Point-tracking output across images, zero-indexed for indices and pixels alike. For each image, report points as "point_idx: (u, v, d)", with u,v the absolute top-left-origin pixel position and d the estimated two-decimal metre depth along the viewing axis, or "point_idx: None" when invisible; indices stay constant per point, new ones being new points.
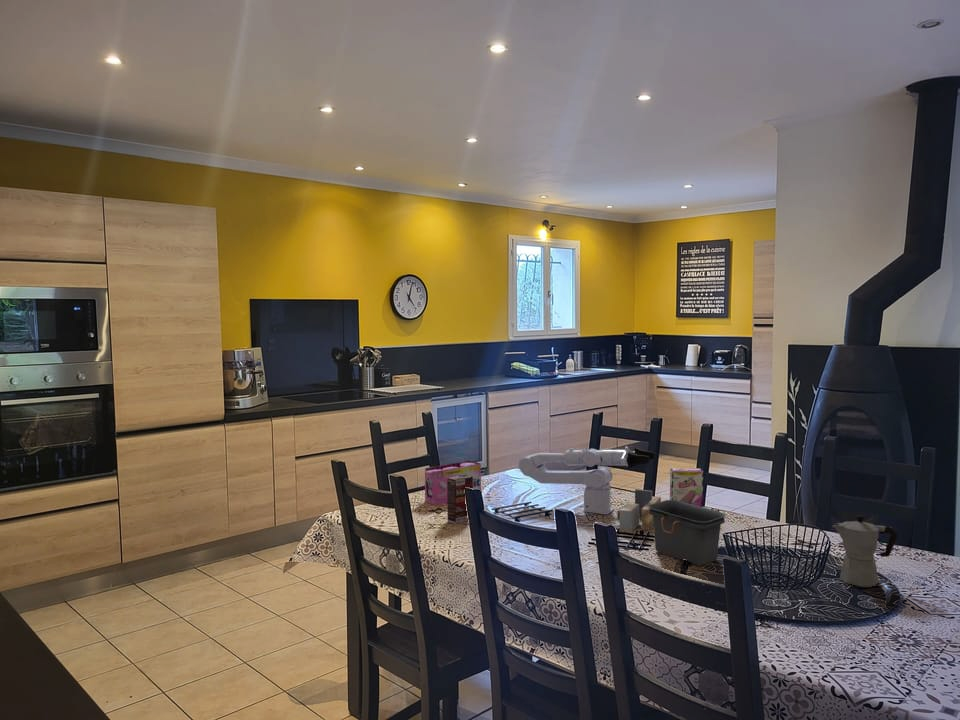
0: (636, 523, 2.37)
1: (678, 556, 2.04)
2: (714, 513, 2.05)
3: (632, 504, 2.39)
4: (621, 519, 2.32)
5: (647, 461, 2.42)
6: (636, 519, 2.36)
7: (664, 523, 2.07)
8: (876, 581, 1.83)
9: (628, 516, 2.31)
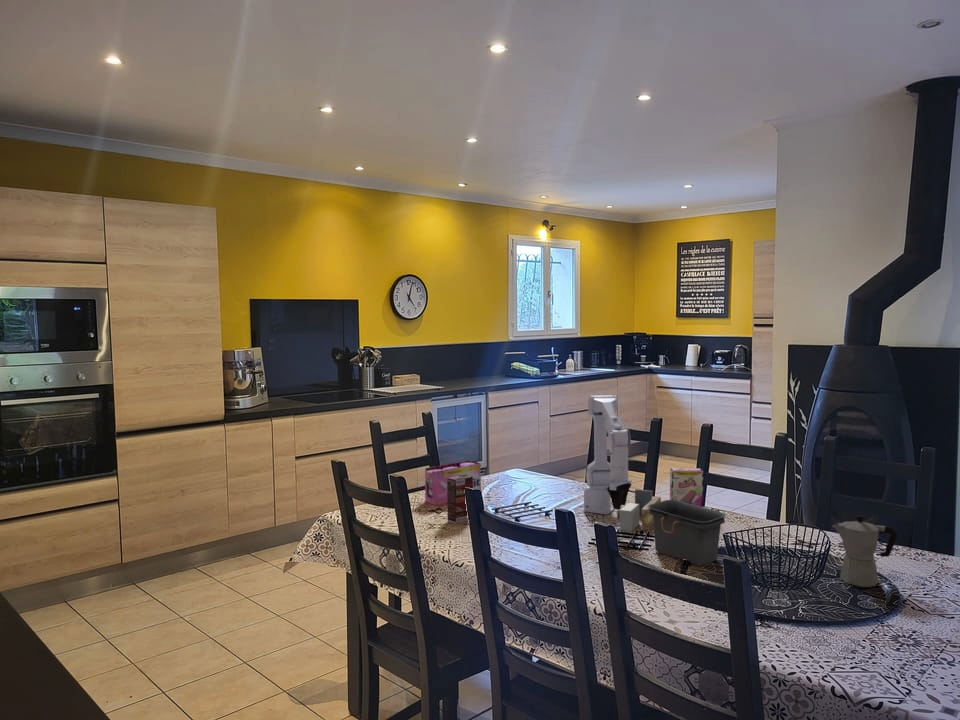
0: (636, 523, 2.37)
1: (678, 556, 2.04)
2: (714, 513, 2.05)
3: (632, 504, 2.39)
4: (621, 519, 2.32)
5: (614, 507, 2.25)
6: (636, 519, 2.36)
7: (664, 523, 2.07)
8: (876, 581, 1.83)
9: (628, 516, 2.31)
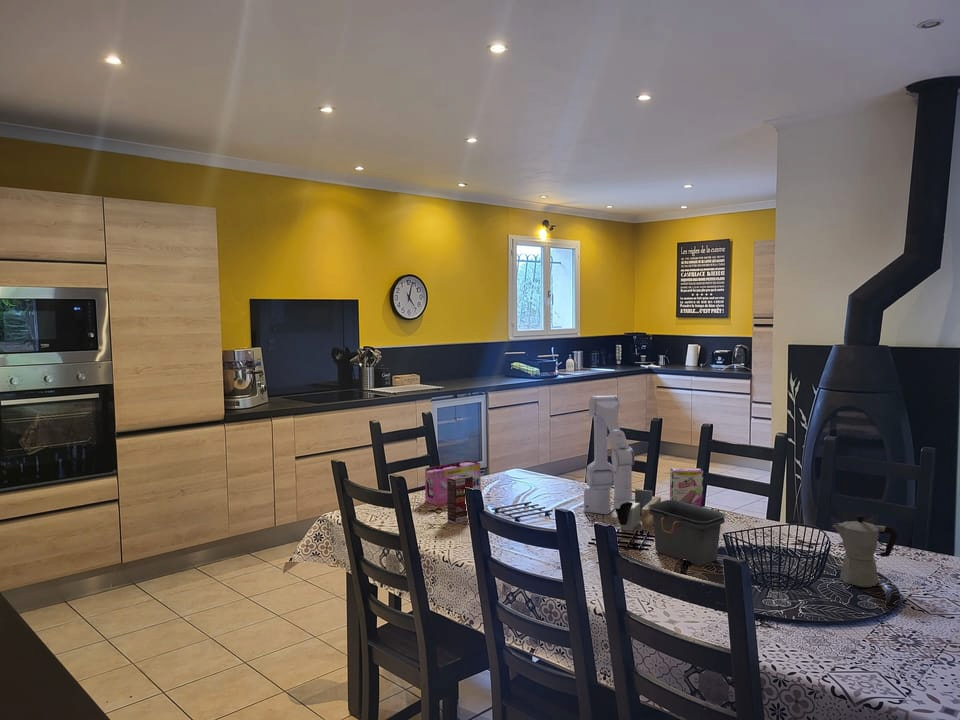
0: (637, 522, 2.37)
1: (678, 556, 2.04)
2: (714, 513, 2.05)
3: (633, 503, 2.40)
4: None
5: (620, 523, 2.31)
6: (637, 517, 2.37)
7: (664, 523, 2.07)
8: (876, 581, 1.83)
9: (629, 515, 2.32)
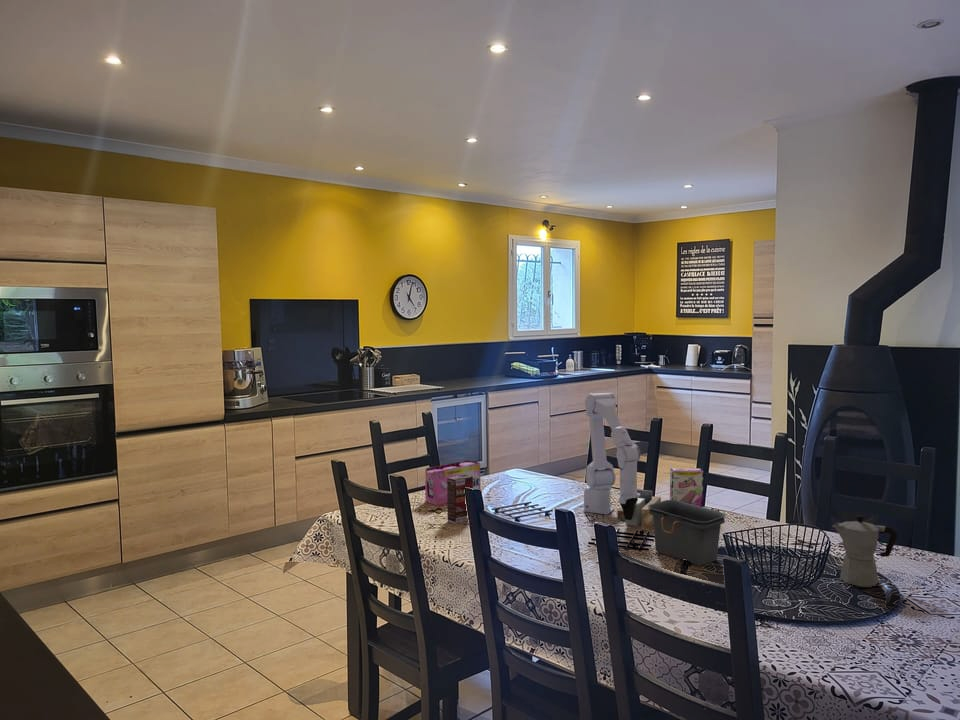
0: None
1: (678, 556, 2.04)
2: (714, 513, 2.05)
3: (638, 499, 2.45)
4: None
5: (626, 518, 2.36)
6: None
7: (664, 523, 2.07)
8: (876, 581, 1.83)
9: (635, 510, 2.37)
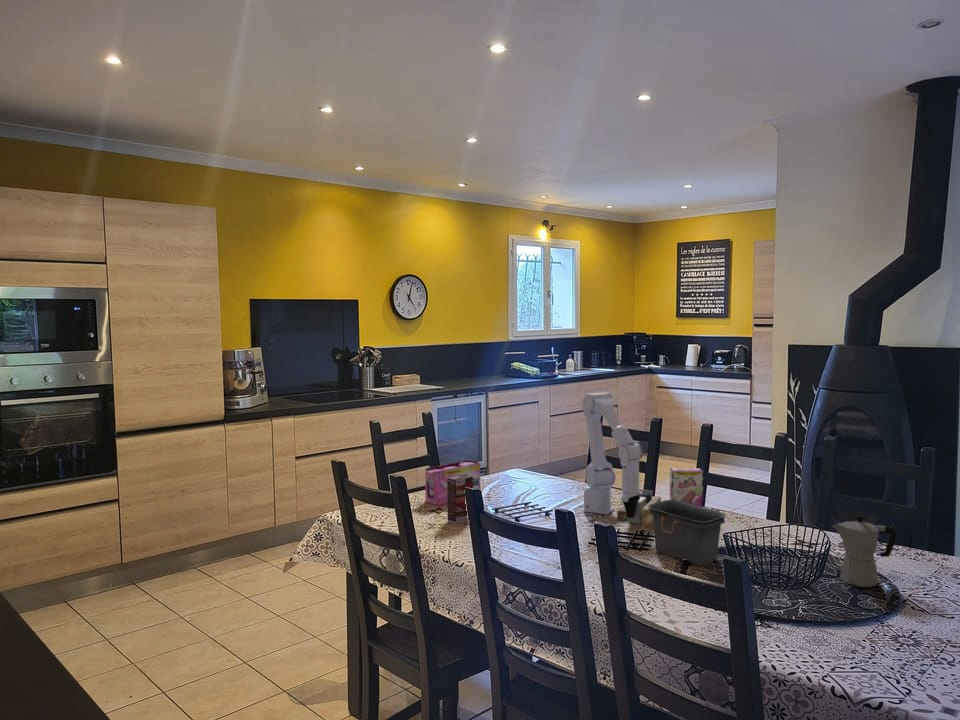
0: None
1: (678, 556, 2.04)
2: (714, 513, 2.05)
3: (640, 497, 2.48)
4: None
5: (628, 516, 2.39)
6: None
7: (664, 523, 2.07)
8: (876, 581, 1.83)
9: (637, 508, 2.40)
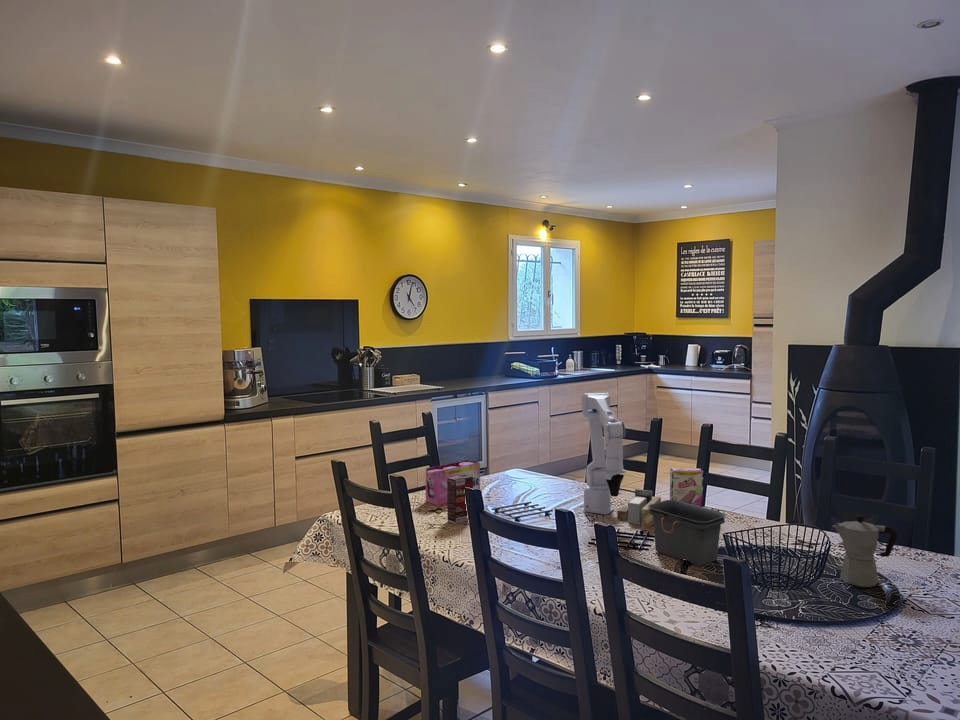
0: None
1: (678, 556, 2.04)
2: (714, 513, 2.05)
3: (640, 497, 2.48)
4: (629, 512, 2.41)
5: (612, 494, 2.37)
6: None
7: (664, 523, 2.07)
8: (876, 581, 1.83)
9: (637, 509, 2.40)
